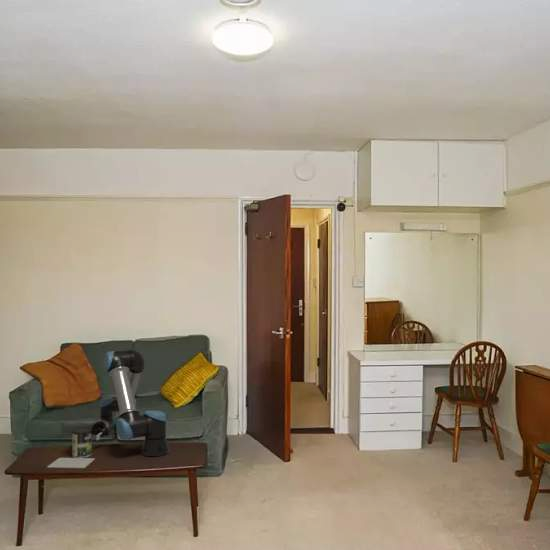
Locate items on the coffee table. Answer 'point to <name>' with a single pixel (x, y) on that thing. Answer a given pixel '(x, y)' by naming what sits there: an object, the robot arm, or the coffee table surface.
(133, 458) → the coffee table surface
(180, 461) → the coffee table surface
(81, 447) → the coffee can
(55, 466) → the mat
